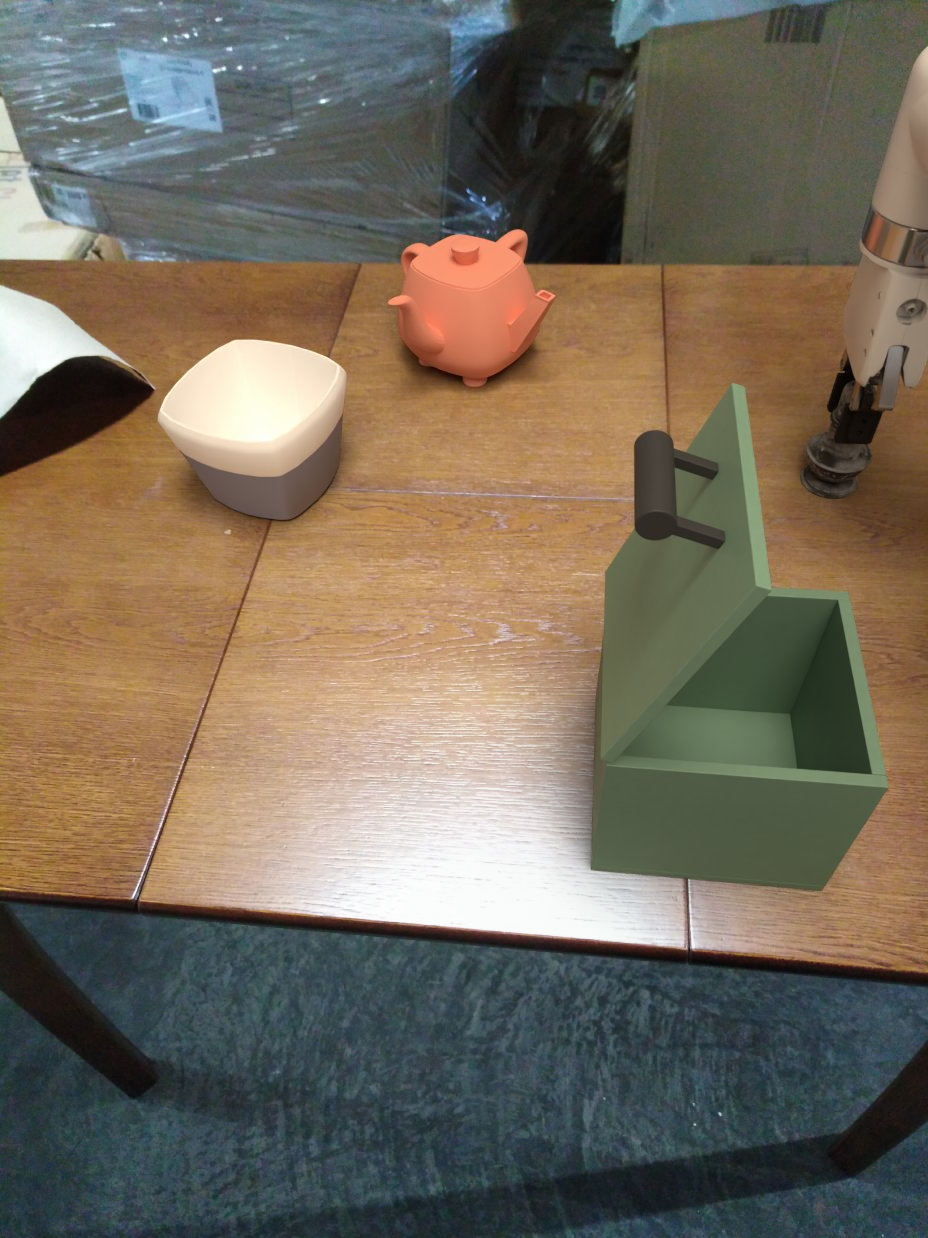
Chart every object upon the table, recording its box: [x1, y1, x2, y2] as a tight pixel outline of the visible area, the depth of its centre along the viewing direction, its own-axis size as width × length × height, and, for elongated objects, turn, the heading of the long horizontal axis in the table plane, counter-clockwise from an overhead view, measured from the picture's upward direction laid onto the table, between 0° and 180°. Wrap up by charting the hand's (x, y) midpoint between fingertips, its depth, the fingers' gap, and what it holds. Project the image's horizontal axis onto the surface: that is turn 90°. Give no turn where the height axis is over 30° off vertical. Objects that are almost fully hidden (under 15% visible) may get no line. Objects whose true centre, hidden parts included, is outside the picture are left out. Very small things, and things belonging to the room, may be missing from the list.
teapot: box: [387, 228, 557, 388], centre depth 97 cm, size 16×17×14 cm
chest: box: [590, 586, 890, 892], centre depth 61 cm, size 16×15×14 cm
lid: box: [601, 382, 773, 762], centre depth 49 cm, size 16×15×5 cm
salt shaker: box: [800, 380, 877, 500], centre depth 82 cm, size 6×6×12 cm
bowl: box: [157, 339, 348, 521], centre depth 86 cm, size 15×15×11 cm
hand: (848, 424), depth 81 cm, fingers closed on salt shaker, 3 cm apart
